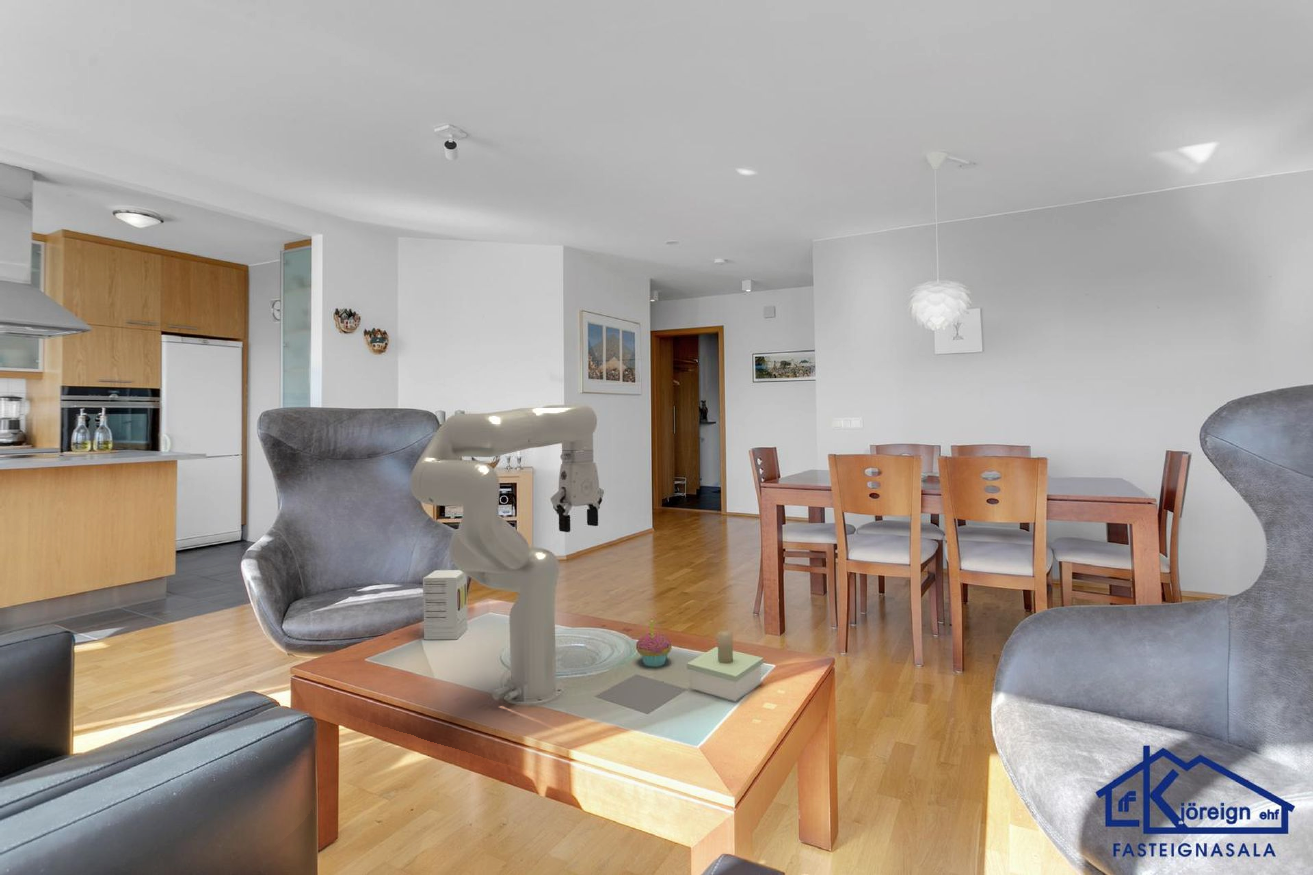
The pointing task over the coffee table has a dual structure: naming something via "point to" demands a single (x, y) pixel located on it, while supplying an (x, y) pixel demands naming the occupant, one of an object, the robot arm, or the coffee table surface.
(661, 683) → the mat
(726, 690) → the white square box
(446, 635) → the supplement box
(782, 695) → the coffee table surface
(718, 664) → the lid
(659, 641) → the cupcake
